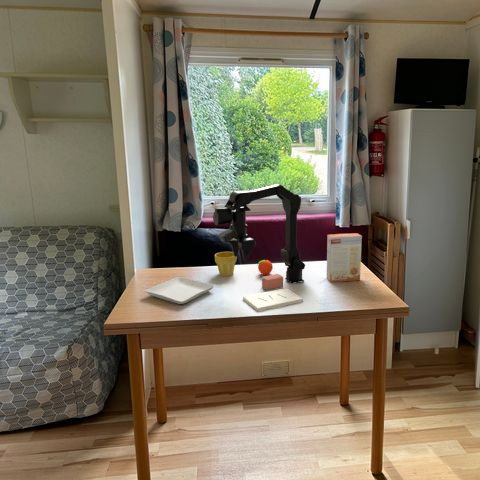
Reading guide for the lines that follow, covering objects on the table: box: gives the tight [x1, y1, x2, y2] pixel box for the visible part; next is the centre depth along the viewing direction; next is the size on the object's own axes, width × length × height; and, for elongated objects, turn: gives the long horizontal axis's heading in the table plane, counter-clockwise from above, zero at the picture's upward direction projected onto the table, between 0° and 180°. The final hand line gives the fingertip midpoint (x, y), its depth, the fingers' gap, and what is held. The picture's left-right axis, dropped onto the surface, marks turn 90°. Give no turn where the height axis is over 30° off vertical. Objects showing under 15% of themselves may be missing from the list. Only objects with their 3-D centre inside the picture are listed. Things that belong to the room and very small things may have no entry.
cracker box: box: [326, 232, 363, 283], centre depth 178 cm, size 14×6×21 cm, turn 94°
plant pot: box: [214, 251, 238, 277], centre depth 191 cm, size 10×10×10 cm
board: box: [242, 287, 304, 312], centre depth 159 cm, size 20×13×1 cm, turn 115°
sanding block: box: [261, 273, 284, 292], centre depth 173 cm, size 8×4×5 cm, turn 114°
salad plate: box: [144, 276, 215, 305], centre depth 167 cm, size 21×21×3 cm
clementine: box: [256, 259, 274, 276], centre depth 189 cm, size 8×7×7 cm
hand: (240, 259), depth 167 cm, fingers open, 9 cm apart
